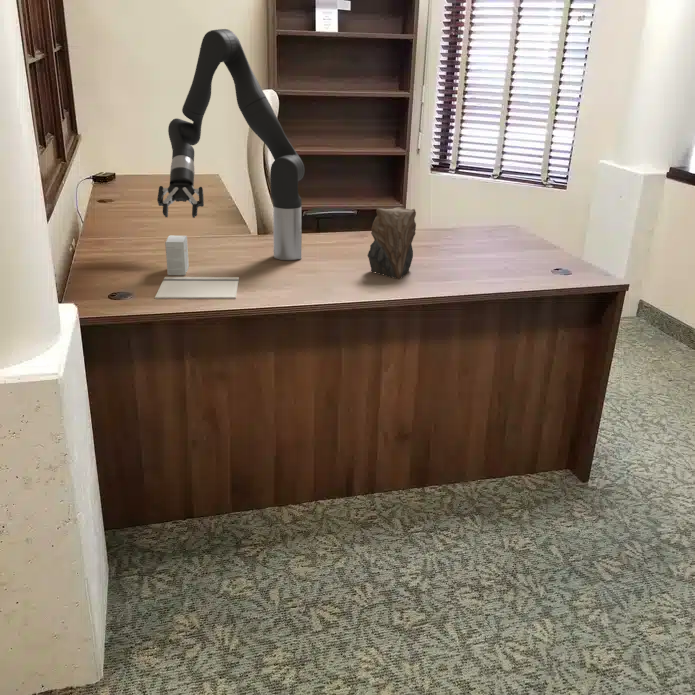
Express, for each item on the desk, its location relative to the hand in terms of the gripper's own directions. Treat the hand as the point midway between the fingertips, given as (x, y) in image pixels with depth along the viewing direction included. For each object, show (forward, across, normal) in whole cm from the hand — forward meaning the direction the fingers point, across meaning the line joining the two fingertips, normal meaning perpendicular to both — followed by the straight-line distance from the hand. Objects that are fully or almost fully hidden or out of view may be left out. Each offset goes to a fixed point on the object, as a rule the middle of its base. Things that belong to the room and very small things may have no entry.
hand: (179, 216), depth 217 cm
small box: (+18, 0, +3) cm, 19 cm away
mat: (+30, +8, -9) cm, 32 cm away
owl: (+18, +67, +3) cm, 70 cm away
